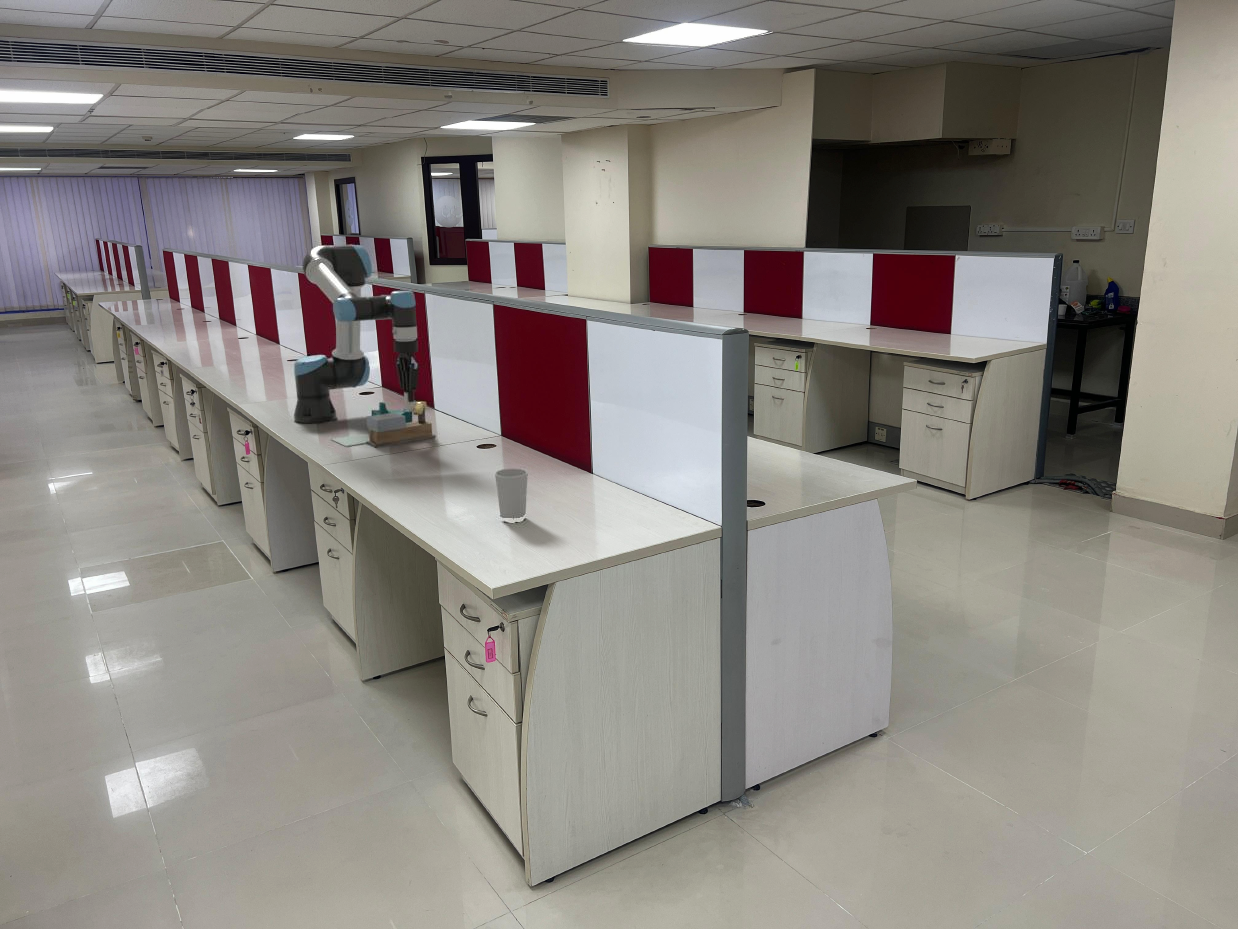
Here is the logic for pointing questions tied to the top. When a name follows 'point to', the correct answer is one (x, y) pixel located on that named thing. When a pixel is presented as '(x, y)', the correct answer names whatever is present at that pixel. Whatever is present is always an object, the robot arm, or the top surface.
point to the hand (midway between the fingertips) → (410, 411)
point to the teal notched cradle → (384, 411)
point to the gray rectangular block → (386, 422)
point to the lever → (419, 408)
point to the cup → (512, 492)
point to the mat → (352, 440)
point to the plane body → (402, 433)
